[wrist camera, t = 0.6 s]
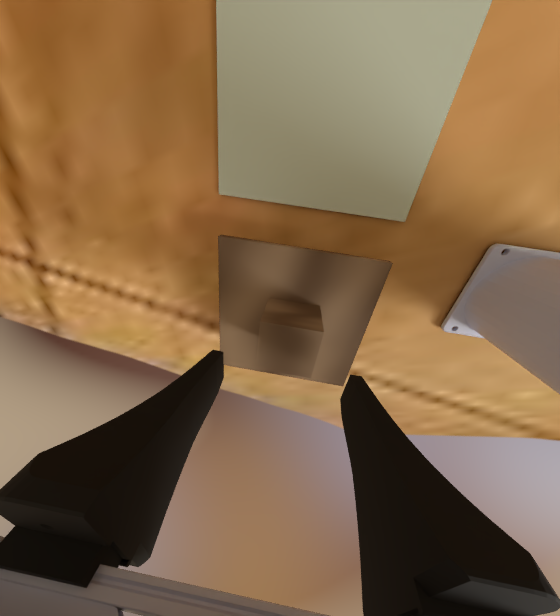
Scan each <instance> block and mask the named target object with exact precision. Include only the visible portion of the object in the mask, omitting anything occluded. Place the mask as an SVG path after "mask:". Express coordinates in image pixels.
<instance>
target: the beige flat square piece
mask: <svg viewBox="0 0 560 616" xmlns="http://www.w3.org/2000/svg"><path fill="white" fill-rule="evenodd" d="M491 2H492V0H216V21H217V95H218V169H219V194H221V195H227V196H234V197H241V198H248V199H254V200H261V201H268V202H274V203H281V204H288V205H295V206H301V207H308V208H315V209H321V210H328V211H335V212H342V213H348V214H355V215H362V216H369V217H375V218H382V219H389V220H395V221H402V222H405V220H406V218H407V215H408V213H409V210H410V208H411V205H412V202H413V200H414V197H415V195H416V192H417V190H418V187H419V185H420V182H421V180H422V177H423V175H424V172H425V170H426V167H427V164H428V162H429V159H430V157H431V154H432V152H433V149H434V147H435V144H436V142H437V139H438V137H439V134H440V132H441V129H442V126H443V124H444V121H445V119H446V116H447V114H448V111H449V109H450V106H451V104H452V101H453V99H454V96H455V93H456V91H457V88H458V86H459V83H460V81H461V78H462V76H463V73H464V71H465V68H466V66H467V63H468V61H469V58H470V55H471V53H472V50H473V48H474V45H475V43H476V40H477V38H478V35H479V33H480V30H481V28H482V25H483V23H484V20H485V17H486V15H487V12H488V10H489V7H490V5H491Z"/></svg>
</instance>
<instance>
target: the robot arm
mask: <svg viewBox="0 0 560 616" xmlns="http://www.w3.org/2000/svg"><path fill="white" fill-rule="evenodd" d="M504 249H505V252H504V253H502V251H503V250H504ZM501 253H502V254H501ZM453 327H454V328H453ZM441 328H442V330H444V331H445V332H450V333H456V334H462V335H468V336H474V337H480V338H485V339H487V340H488V341H489V342H491V343H492V344H493V345H495V346H496V347H497V348H499V349H500V350H501V351H503V352H504V353H505V354H507V355H508V356H509V357H511V358H512V359H513V360H515V361H516V362H517V363H519V364H520V365H521V366H523V367H524V368H525V369H527V370H528V371H529V372H531V373H532V374H533V375H535V376H536V377H537V378H539V379H540V380H541V381H543V382H544V383H545V384H547V385H548V386H549V387H551V388H552V389H553V390H555V391H556V392H557V393H559V394H560V253H559V252H553V251H546V250H539V249H533V248H526V247H519V246H513V245H506V244H499V243H498V244H494V245H492V246H490V248H489V249H488V250H487V252H486V253H485V255H484V257H483V258H482V260H481V262H480V263H479V265H478V266H477V268H476V270H475V271H474V273H473V275H472V276H471V278H470V279H469V281H468V283H467V284H466V286H465V288H464V289H463V291H462V293H461V294H460V296H459V297H458V299H457V301H456V302H455V304H454V306H453V307H452V309H451V310H450V312H449V314H448V315H447V317H446V319H445V320H444V322H443V323H442V325H441ZM452 328H453V329H452ZM223 378H224V354H223V352H222V351H216V350H212V351H211V352H210V353H208V354H207V355H206V356H205V357H204V358H203V359H201V360H200V361H199V362H198V363H197V364H196V365H194V366H193V367H192V368H191V369H189V370H188V371H187V372H186V373H184V374H183V375H182V376H181V377H179V378H178V379H177V380H175V381H174V382H172V383H171V384H170V385H168V386H167V387H166V388H164V389H163V390H161V391H160V392H158V393H157V394H155V395H154V396H152V397H151V398H149V399H147V400H146V401H144V402H143V403H141V404H139V405H138V406H136V407H134V408H133V409H131V410H129V411H127V412H125V413H124V414H122V415H120V416H118V417H116V418H114V419H112V420H111V421H109V422H107V423H105V424H103V425H101V426H99V427H97V428H95V429H93V430H91V431H88V432H86V433H85V434H82V435H80V436H78V437H76V438H73V439H71V440H69V441H67V442H64V443H62V444H60V445H57V446H55V447H53V448H51V449H48V450H46V451H43V452H41V453H39V454H38V455H37V456H36V457H35V458H33V460H31V461H30V462H29V463H28V464H27V465H26V466H25V467H24V468H23V469H22V470H21V471H19V472H18V473H17V474H16V475H15V476H14V477H13V478H12V479H11V480H10V481H9V482H8V483H7V484H6V485H5V486H3V487H2V488H1V489H0V515H1V516H2V517H4V518H5V519H7V520H8V521H10V522H11V523H12V524H14V525H15V527H14V528H13V529H12V530H11V531H10V532H9V534H8V535H7V536H6V537H5V538H4V537H2V536H0V616H124V615H123V612H122V611H125V612H130V613H134V614H138V615H143V616H329V615H324V614H320V613H315V612H310V611H306V610H302V609H297V608H293V607H288V606H284V605H279V604H275V603H271V602H266V601H262V600H257V599H252V598H248V597H244V596H239V595H235V594H230V593H226V592H222V591H217V590H213V589H208V588H203V587H199V586H195V585H190V584H186V583H181V582H177V581H172V580H168V579H164V578H159V577H155V576H150V575H146V574H141V573H137V572H132V571H128V570H124V569H119V568H118V566H119V565H120V566H125V567H128V566H129V565H132V566H136V567H139V566H141V565H142V564H143V563H145V562H146V561H147V560H148V559H149V558H150V556H151V554H152V550H153V548H154V545H155V542H156V539H157V536H158V534H159V531H160V528H161V525H162V522H163V519H164V517H165V514H166V511H167V509H168V506H169V503H170V500H171V498H172V495H173V492H174V490H175V487H176V484H177V482H178V479H179V477H180V474H181V472H182V469H183V467H184V464H185V462H186V459H187V457H188V454H189V451H190V449H191V447H192V444H193V442H194V440H195V438H196V436H197V434H198V432H199V430H200V428H201V426H202V424H203V421H204V420H205V418H206V416H207V414H208V412H209V410H210V408H211V406H212V404H213V402H214V400H215V398H216V396H217V394H218V391H219V389H220V386H221V383H222V381H223ZM340 401H341V414H342V421H343V427H344V432H345V437H346V442H347V447H348V452H349V457H350V462H351V467H352V474H353V482H354V491H355V500H356V511H357V521H358V532H359V547H360V560H361V579H362V600H363V614H364V616H536V615H540V614H546V613H550V612H554V611H556V610H558V609H559V608H560V599H559V598H558V596H557V594H556V593H555V591H554V590H553V588H552V587H551V585H550V584H549V582H548V580H547V579H546V577H545V576H544V574H543V573H542V571H541V570H540V568H539V567H538V565H537V563H536V562H535V560H534V559H533V557H532V556H531V554H530V553H529V552H528V551H527V550H525V549H524V548H523V547H522V546H521V545H519V544H518V543H517V542H516V541H515V540H513V539H512V538H511V537H510V536H509V535H508V534H506V533H505V532H504V531H503V530H502V529H501V528H499V527H498V526H497V525H496V524H495V523H493V522H492V521H491V520H490V519H489V518H488V517H487V516H485V515H484V514H483V513H482V512H481V511H480V510H479V509H478V508H477V507H475V506H474V505H473V504H472V503H471V502H470V501H469V500H468V499H466V497H464V496H463V495H462V494H461V493H460V492H459V491H458V490H457V489H456V488H455V487H454V486H453V485H452V484H451V483H450V482H449V481H448V480H447V479H446V478H445V477H444V476H443V475H442V474H441V473H440V472H439V471H438V470H437V469H436V468H435V467H434V466H433V465H432V464H431V463H430V462H429V461H428V460H427V459H426V458H425V457H424V456H423V455H422V453H421V452H420V451H419V450H418V449H417V448H416V447H415V446H414V445H413V443H412V442H411V441H410V440H409V439H408V438H407V437H406V435H405V434H404V433H403V432H402V430H401V429H400V428H399V427H398V426H397V424H396V423H395V422H394V421H393V419H392V418H391V417H390V415H389V414H388V413H387V411H386V410H385V409H384V407H383V406H382V405H381V403H380V402H379V401H378V399H377V398H376V396H375V395H374V393H373V392H372V391H371V389H370V388H369V386H368V385H367V383H366V382H365V381H364V379H363V378H362V376H356V375H350V377H349V379H348V382H347V384H346V387H345V389H344V391H343V394H342V396H341V399H340Z"/></svg>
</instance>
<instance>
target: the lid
mask: <svg viewBox="0 0 560 616" xmlns="http://www.w3.org/2000/svg"><path fill="white" fill-rule="evenodd" d="M218 249H219V312H220V351H222V352H223V354H224V365H227V366H233V367H239V368H244V369H250V370H255V371H261V372H267V373H272V374H278V375H283V376H289V377H294V378H300V379H306V380H311V381H317V382H322V383H328V384H333V385H339V386H343V385H344V382H345V380H346V377H347V375H348V373H349V370H350V368H351V365H352V363H353V360H354V358H355V355H356V353H357V350H358V348H359V345H360V343H361V340H362V338H363V335H364V333H365V331H366V328H367V326H368V323H369V321H370V318H371V316H372V313H373V311H374V308H375V306H376V303H377V301H378V298H379V296H380V293H381V291H382V289H383V286H384V284H385V281H386V279H387V276H388V274H389V271H390V269H391V266H392V264H393V263H391V262H390V261H386V260H379V259H373V258H366V257H360V256H354V255H347V254H341V253H334V252H328V251H322V250H315V249H309V248H302V247H296V246H290V245H283V244H277V243H270V242H264V241H258V240H251V239H245V238H238V237H232V236H225V235H220V236H218Z"/></svg>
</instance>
